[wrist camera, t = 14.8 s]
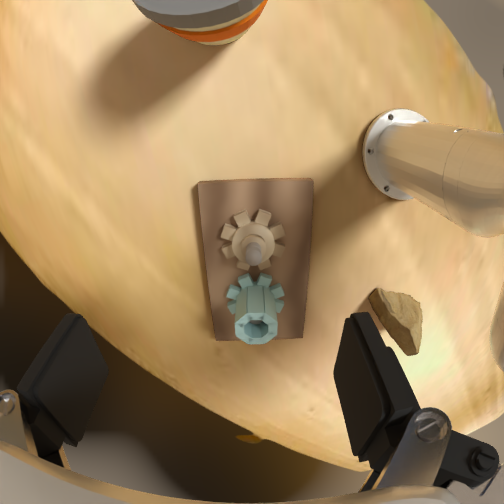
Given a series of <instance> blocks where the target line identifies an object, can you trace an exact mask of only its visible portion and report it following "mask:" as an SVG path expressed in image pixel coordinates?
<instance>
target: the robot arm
mask: <svg viewBox="0 0 504 504" xmlns="http://www.w3.org/2000/svg"><path fill="white" fill-rule="evenodd" d="M388 116H389V119H388ZM368 149H369V150H370V151H369V152H368ZM362 153H363V163H364V166H365V170H366V172H367V175H368V177H369V179H370V180H371V182H372V183H373V184H374V186H375V187H376V188H377V189H378V190H380V191H381V192H382V193H384V194H385V195H387V196H389V197H391V198H394V199H398V200H408V199H413V198H415V199H417V200H418V201H420V202H422V203H423V204H425V205H427V206H428V207H430V208H432V209H433V210H435V211H436V212H438V213H440V214H441V215H443V216H444V217H446V218H447V219H449V220H450V221H452V222H454V223H455V224H457V225H458V226H460V227H461V228H463V229H464V230H466V231H467V232H469V233H471V234H473V235H476V236H479V237H486V238H488V237H495V236H499V235H501V234H504V134H500V133H494V132H489V131H484V130H478V129H472V128H466V127H460V126H454V125H446V124H439V123H430V122H429V121H428V120H427V119H426V118H425V117H423V116H422V115H421V114H419V113H417V112H415V111H412V110H409V109H392V110H388V111H386V112H384V113H382V114H380V115H379V116H378V117H377V118H376V119H375V120H374V121H373V122H372V123H371V125H370V126H369V128H368V130H367V132H366V134H365V138H364V142H363V151H362ZM384 187H385V188H384ZM490 349H491V352H492V355H493V358H494V360H495V362H496V364H497V365H498V366H499V368H500V369H501V370H502V371H503V372H504V282H503V286H502V290H501V293H500V296H499V300H498V303H497V306H496V309H495V313H494V316H493V320H492V324H491V329H490ZM107 376H108V366H107V364H106V362H105V360H104V358H103V356H102V354H101V352H100V350H99V348H98V346H97V344H96V341H95V339H94V337H93V335H92V332H91V330H90V328H89V326H88V323H87V321H86V319H84V318H83V316H82V315H80V314H72V313H68V314H66V315H65V316H64V318H63V319H62V320H61V322H60V323H59V324H58V326H57V327H56V328H55V330H54V331H53V333H52V334H51V336H50V337H49V338H48V340H47V341H46V343H45V344H44V346H43V347H42V349H41V350H40V352H39V353H38V355H37V356H36V358H35V359H34V361H33V362H32V364H31V365H30V367H29V369H28V370H27V372H26V373H25V375H24V376H23V378H22V380H21V381H20V383H19V385H18V386H17V389H18V391H19V392H20V394H19V396H18V395H17V393H16V392H14V391H13V390H4V391H2V392H0V504H504V463H503V464H502V465H501V464H499V455H498V453H497V451H496V449H495V448H494V447H493V446H491V445H489V444H487V443H484V442H481V441H479V440H476V439H473V438H471V437H468V436H466V435H463V434H461V433H458V432H456V431H453V430H452V426H451V421H450V419H449V417H448V416H447V415H446V414H445V413H444V412H443V411H441V410H439V409H437V408H432V407H428V408H423V409H421V408H420V406H419V404H418V401H417V399H416V397H415V395H414V393H413V390H412V388H411V386H410V384H409V382H408V380H407V377H406V375H405V373H404V371H403V369H402V367H401V365H400V363H399V361H398V359H397V357H396V355H395V353H394V351H393V350H392V348H391V347H386V345H385V343H384V341H383V339H382V337H381V335H380V333H379V331H378V329H377V327H376V325H375V323H374V322H373V320H372V318H371V316H370V314H369V313H368V312H362V313H352V314H351V315H350V318H346V320H345V323H344V328H343V333H342V337H341V342H340V346H339V350H338V355H337V359H336V363H335V367H334V380H335V384H336V388H337V392H338V396H339V399H340V403H341V407H342V411H343V415H344V419H345V423H346V428H347V432H348V436H349V440H350V444H351V449H352V453H353V455H354V456H358V458H359V462H363V461H368V460H369V463H370V467H371V468H372V470H371V472H370V474H369V475H368V477H367V479H366V480H365V482H364V484H363V485H362V487H361V488H360V490H359V491H358V493H353V494H346V495H340V496H334V497H328V498H321V499H313V500H303V501H292V502H278V503H220V502H206V501H196V500H195V501H194V500H187V499H178V498H172V497H166V496H160V495H155V494H150V493H145V492H140V491H135V490H131V489H127V488H123V487H120V486H116V485H112V484H109V483H105V482H102V481H99V480H96V479H93V478H90V477H87V476H84V475H81V474H78V473H76V472H73V471H71V469H70V466H69V464H68V461H67V458H66V456H65V453H64V450H63V447H62V444H63V441H64V442H65V443H66V444H69V445H72V446H75V447H77V444H78V441H81V440H82V438H83V435H84V432H85V430H86V427H87V425H88V422H89V419H90V417H91V414H92V412H93V409H94V407H95V404H96V401H97V399H98V397H99V394H100V392H101V390H102V387H103V385H104V383H105V381H106V378H107Z"/></svg>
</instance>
